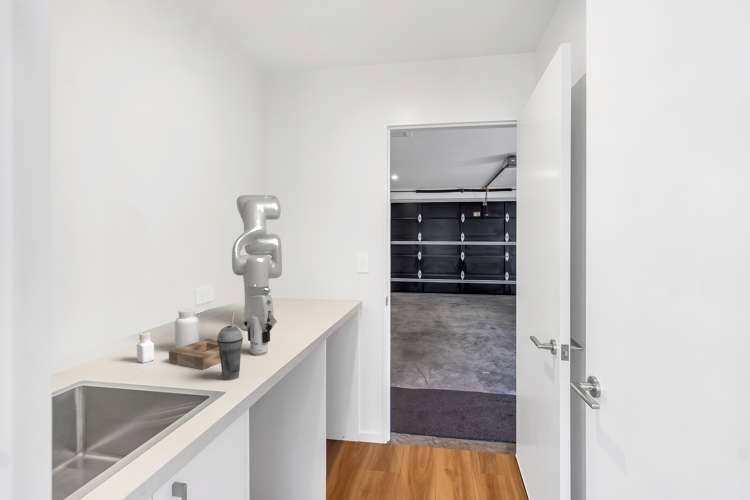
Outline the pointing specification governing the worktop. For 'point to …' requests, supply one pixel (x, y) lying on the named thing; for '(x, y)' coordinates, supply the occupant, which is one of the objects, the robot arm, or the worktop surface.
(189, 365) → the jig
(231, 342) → the beverage cup
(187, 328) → the pill bottle
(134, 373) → the worktop surface
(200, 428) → the worktop surface
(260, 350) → the energy drink can
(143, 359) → the pepper shaker
